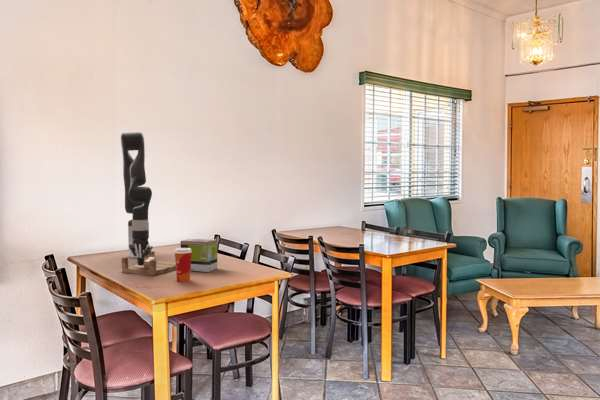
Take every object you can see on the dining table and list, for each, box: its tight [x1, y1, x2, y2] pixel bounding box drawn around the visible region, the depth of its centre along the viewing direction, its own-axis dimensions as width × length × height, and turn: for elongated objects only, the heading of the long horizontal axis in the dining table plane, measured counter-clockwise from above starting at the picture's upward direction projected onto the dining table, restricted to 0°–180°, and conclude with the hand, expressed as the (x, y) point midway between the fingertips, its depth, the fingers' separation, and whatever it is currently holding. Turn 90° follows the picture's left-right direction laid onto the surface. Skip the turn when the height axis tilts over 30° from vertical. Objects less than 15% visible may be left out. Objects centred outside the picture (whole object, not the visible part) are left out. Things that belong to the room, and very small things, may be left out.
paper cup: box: [173, 247, 192, 283], centre depth 211 cm, size 8×8×14 cm
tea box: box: [180, 237, 218, 273], centre depth 234 cm, size 15×10×15 cm, turn 71°
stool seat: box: [121, 250, 176, 277], centre depth 233 cm, size 20×19×7 cm
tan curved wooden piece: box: [144, 254, 157, 268], centre depth 234 cm, size 15×2×4 cm, turn 5°
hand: (140, 265), depth 229 cm, fingers closed
